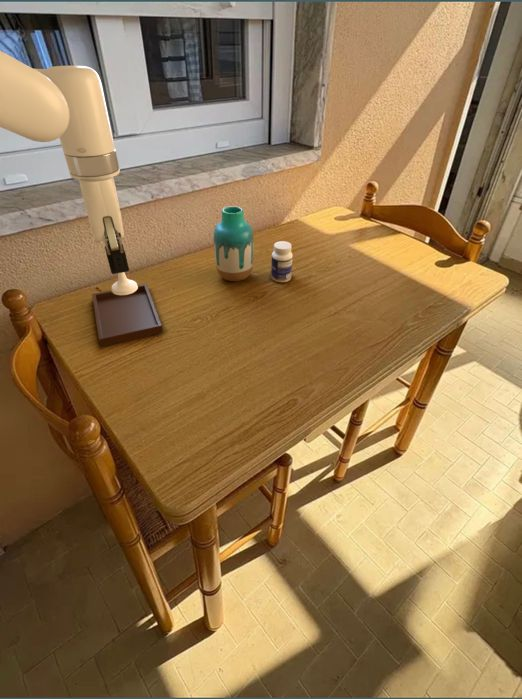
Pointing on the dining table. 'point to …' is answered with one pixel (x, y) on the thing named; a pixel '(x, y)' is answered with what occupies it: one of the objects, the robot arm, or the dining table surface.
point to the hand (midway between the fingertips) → (119, 267)
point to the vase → (233, 245)
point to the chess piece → (124, 285)
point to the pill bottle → (281, 262)
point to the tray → (125, 316)
